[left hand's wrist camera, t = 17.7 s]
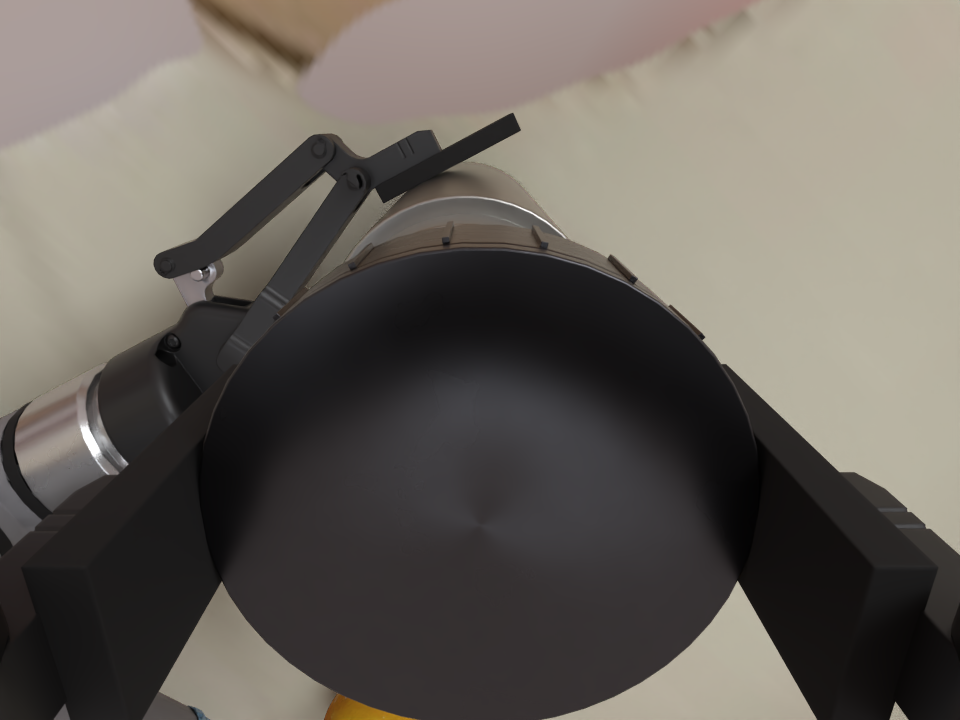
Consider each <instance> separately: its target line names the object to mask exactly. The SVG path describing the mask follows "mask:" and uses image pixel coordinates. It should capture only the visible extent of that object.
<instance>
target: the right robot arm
mask: <svg viewBox="0 0 960 720" xmlns="http://www.w3.org/2000/svg"><path fill="white" fill-rule="evenodd" d="M519 131H521V129H520V127H519V125H518V123H517V120H516V118H515V116H514V114H513V113H511V114H508V115H507V116H505V117H503V118H501V119H499V120H497V121H495V122H494V123H492V124H490V125H488V126H486V127H484V128H482V129H481V130H479V131H477V132H475V133H473V134H471V135H469V136H468V137H466V138H464V139H462V140H460V141H458V142H456V143H455V144H453V145H451V146H449V147H447V148H445V149H443V150H442V149H441V147H440V145H439V143H438V141H437V139H436V137H435V135H434V133H433V131H432V130H425V131H417V132H415V133H413V134H411V135H409V136H408V137H406V138H404V139H402V140H400V141H398V142H397V143H395V144H393V145H391V146H389V147H387V148H386V149H384V150H382V151H380V152H378V153H377V154H375V155H373V156H371V157H369V158H364V157H360V156H358V155H356V154H355V153H353V152H352V151H351V150H350V149H349V148H348V147H347V146H346V145H345V144H344V143H343V141H342V140H341V138H339V137H338V136H337V135H334V134H317V135H313V136H311V137H309V138H308V139H307V140H306V141H305V142H304V143H303V144H301V145H300V146H299V147H298V148H297V149H296V150H295V151H294V152H293V153H291V154H290V155H289V156H288V157H287V158H286V159H285V160H284V161H283V162H282V163H280V164H279V165H278V166H277V167H276V168H275V169H274V170H273V171H272V172H270V173H269V174H268V175H267V176H266V177H265V178H264V179H263V180H262V181H261V182H259V183H258V184H257V185H256V186H255V187H254V188H253V189H252V190H251V191H249V192H248V193H247V194H246V195H245V196H244V197H243V198H242V199H241V200H239V201H238V202H237V203H236V204H235V205H234V206H233V207H232V208H231V209H230V210H228V211H227V212H226V213H225V214H224V215H223V216H222V217H221V218H220V219H218V220H217V221H216V222H215V223H214V224H213V225H212V226H211V227H210V228H209V229H207V230H206V231H205V232H204V233H203V234H202V235H201V236H200V237H199V238H197V239H195V240H192V241H189V242H186V243H183V244H181V245H178V246H176V247H173V248H171V249H169V250H166V251H164V252H161V253H159V254H158V255H156V257H155V259H154V267H155V270H156V271H157V273H158V274H159V275H161V276H162V277H164V278H168V279H171V278H173V279H174V281H175V283H176V285H177V287H178V289H179V291H180V293H181V295H182V297H183V299H184V300H185V302H186V304H187V306H188V307H187V308H186V309H185V311H184V312H183V314H182V316H181V318H180V320H179V321H178V322H177V324H175V325H173V326H171V327H169V328H168V329H166V330H164V331H162V332H160V333H158V334H156V335H154V336H152V337H151V338H149V339H147V340H145V341H143V342H141V343H139V344H137V345H135V346H134V347H132V348H130V349H128V350H126V351H124V352H122V353H120V354H118V355H117V356H115V357H113V358H112V359H111V360H110V361H109V362H108V363H102V364H100V365H98V366H96V367H94V368H92V369H90V370H88V371H86V372H84V373H83V374H81V375H79V376H77V377H75V378H73V379H71V380H69V381H67V382H65V383H63V384H62V385H60V386H58V387H56V388H54V389H52V390H50V391H48V392H46V393H44V394H43V395H41V396H39V397H37V398H35V399H34V400H33V401H31V402H29V403H28V404H26V405H24V406H23V407H21V408H20V409H18V410H16V411H14V412H12V413H10V414H8V415H6V416H4V417H2V418H0V558H1V557H2V556H3V555H4V554H5V553H6V552H7V551H9V550H10V549H11V548H12V547H13V546H14V545H15V544H16V543H18V542H19V541H20V540H21V539H22V538H23V537H24V536H25V535H26V534H28V533H29V532H30V531H34V530H35V526H37V525H38V524H39V523H40V522H41V521H42V520H43V519H44V518H45V517H47V516H48V515H52V514H53V510H54V509H56V508H57V507H58V506H59V505H60V504H61V503H62V502H63V501H64V500H66V499H67V498H68V497H69V496H70V495H71V494H72V493H73V492H75V491H76V490H78V489H80V488H82V487H84V486H85V485H87V484H89V483H91V482H93V481H95V480H96V479H98V478H100V477H102V476H104V475H118V474H119V473H120V472H121V471H122V470H123V469H124V468H125V467H126V466H127V465H128V464H129V463H131V462H132V461H133V460H134V459H135V458H136V457H137V456H138V455H139V454H140V453H141V452H142V451H143V450H144V449H145V448H146V447H147V446H148V445H149V444H150V443H151V442H153V441H154V440H155V439H156V438H157V437H158V436H159V435H160V434H161V433H162V432H163V431H164V430H165V429H166V428H167V427H168V426H169V425H170V424H171V423H172V422H174V421H175V420H176V419H177V418H178V417H179V416H180V415H181V414H182V413H183V412H184V411H185V410H186V409H187V408H188V407H189V406H190V405H191V404H192V403H193V402H194V401H196V400H197V399H198V398H199V397H200V396H201V395H202V394H203V393H204V392H205V391H206V390H207V389H208V388H209V387H210V386H211V385H212V384H213V383H214V382H215V381H216V380H218V379H219V378H220V377H221V376H222V375H223V374H224V373H225V372H226V371H227V370H228V369H229V368H230V367H231V366H232V365H233V364H239V363H240V362H241V360H242V359H243V357H244V356H245V354H246V353H247V351H248V350H249V349H250V348H251V347H252V346H253V345H254V344H255V343H256V341H257V340H258V339H259V338H260V337H261V336H262V335H263V334H264V333H265V332H266V331H267V330H268V329H269V328H270V327H271V326H272V324H273V323H274V322H275V320H274V319H273V318H272V317H273V316H274V315H275V314H276V313H277V312H278V311H279V310H280V309H281V308H283V307H284V306H285V305H286V304H287V303H288V302H289V301H290V300H291V299H292V298H294V297H295V296H296V295H297V294H298V293H299V292H300V291H301V290H302V289H303V288H304V287H305V285H306V284H307V282H308V281H309V280H310V278H311V277H312V275H313V274H314V272H315V271H316V269H317V268H318V267H319V265H320V264H321V262H322V261H323V259H324V258H325V257H326V255H327V254H328V252H329V251H330V249H331V248H332V247H333V245H334V244H335V242H336V241H337V239H338V238H339V237H340V235H341V234H342V232H343V231H344V229H345V228H346V226H347V225H348V224H349V222H350V221H351V219H352V218H353V216H354V215H355V214H356V212H357V211H358V209H359V208H360V206H361V205H362V204H363V202H364V201H365V199H366V198H367V196H368V195H369V194H370V192H371V191H372V189H374V188H375V189H376V191H377V192H378V194H379V196H380V198H381V200H382V202H383V203H385V202H387V201H389V200H391V199H393V198H395V197H397V196H398V195H400V194H402V193H404V192H406V191H408V190H410V189H412V188H413V187H415V186H417V185H419V184H421V183H423V182H425V181H427V180H429V179H430V178H432V177H434V176H436V175H438V174H440V173H442V172H444V171H446V170H447V169H449V168H451V167H453V166H455V165H457V164H459V163H461V162H462V161H464V160H466V159H468V158H470V157H472V156H474V155H476V154H478V153H479V152H481V151H483V150H485V149H487V148H489V147H491V146H493V145H494V144H496V143H498V142H500V141H502V140H504V139H506V138H508V137H510V136H511V135H513V134H515V133H517V132H519ZM325 172H327V173H328V174H329V175H330V176H331V177H333V178H334V179H335V180H336V181H337V183H336V184H335V185H334V187H333V188H332V190H331V191H330V193H329V194H328V196H327V197H326V199H325V200H324V202H323V203H322V205H321V206H320V208H319V209H318V211H317V212H316V214H315V215H314V217H313V218H312V220H311V221H310V222H309V224H308V225H307V227H306V228H305V230H304V231H303V233H302V234H301V236H300V237H299V239H298V240H297V242H296V243H295V245H294V246H293V248H292V249H291V251H290V252H289V254H288V255H287V257H286V258H285V259H284V261H283V262H282V264H281V265H280V267H279V268H278V270H277V271H276V273H275V274H274V276H273V277H272V279H271V280H270V282H269V283H268V285H267V286H266V287H265V288H264V289H263V291H262V292H261V293H260V294H259V296H258V297H257V298H256V300H255V301H250V300H243V299H236V298H230V297H223V296H216V295H214V294H213V290H212V287H213V283H214V282H215V281H216V280H217V279H218V278H220V277H221V276H222V274H223V272H224V266H223V263H222V261H221V258H223V257H225V256H227V255H229V254H230V253H232V252H234V251H235V250H237V249H238V248H239V247H241V246H242V245H243V244H244V243H245V242H247V241H248V240H249V239H250V238H251V237H252V236H253V235H254V234H256V233H257V232H258V231H259V230H260V229H261V228H262V227H264V226H265V225H266V224H267V223H268V222H269V221H270V220H271V219H273V218H274V217H275V216H276V215H277V214H278V213H279V212H281V211H282V210H283V209H284V208H285V207H286V206H287V205H288V204H290V203H291V202H292V201H293V200H294V199H295V198H296V197H298V196H299V195H300V194H301V193H302V192H303V191H304V190H305V189H307V188H308V187H309V186H310V185H311V184H312V183H313V182H315V181H316V180H317V179H318V178H319V177H320V176H321V175H323V174H324V173H325ZM54 720H70V718H69V715H68V712H67V708H66V705H65V704H64V706H63V707H62V709H61V710H60V711H59V713H58V714H57V715H56V717H55V718H54ZM142 720H210V719H208V718H207V717H205V715H204V713H203V712H202V711H201V710H199V709H197V708H195V707H192V706H186V705H184V704H182V703H180V702H178V701H176V700H174V699H172V698H170V697H168V696H166V695H164V694H162V693H160V692H158V693H157V695H156V697H155V698H154V700H153V702H152V704H151V705H150V707H149V709H148V711H147V712H146V714H145V716H144V718H143V719H142Z"/></svg>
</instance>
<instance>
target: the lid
mask: <svg viewBox="0 0 960 720" xmlns="http://www.w3.org/2000/svg"><path fill="white" fill-rule="evenodd" d="M272 318H273V319H274V320H275V322H274V323H273V324H272V326H271V327H270V328H269V329H268V330H267V331H266V332H265V333H264V334H263V335H262V336H261V337H260V338H259V339H258V340H257V341H256V343H255V344H254V345H253V346H252V347H251V348H250V349H249V350H248V351H247V353H246V354H245V356H244V357H243V359H242V360H241V362H240V363H239V364H238V366H237V367H236V369H235V370H234V372H233V373H232V375H231V376H230V378H229V379H228V380H227V381H226V383H225V386H224V389H223V391H222V393H221V395H220V397H219V400H218V402H217V404H216V406H215V408H214V410H213V413H212V416H211V419H210V423H209V426H208V429H207V433H206V436H205V439H204V443H203V450H202V458H201V465H200V473H199V488H200V509H201V514H202V519H203V525H204V530H205V535H206V540H207V544H208V547H209V550H210V553H211V556H212V559H213V562H214V565H215V568H216V570H217V572H218V574H219V576H220V578H221V580H222V582H223V584H224V586H225V588H226V590H227V592H228V594H229V595H230V597H231V598H232V600H233V601H234V603H235V604H236V606H237V607H238V609H239V610H240V611H241V613H242V614H243V616H244V617H245V619H246V620H247V621H248V622H249V623H250V625H251V626H252V627H253V628H254V629H255V630H256V631H257V632H258V634H259V635H260V636H261V637H262V638H263V639H264V640H265V641H266V643H268V644H269V645H270V646H271V647H272V648H273V649H274V650H275V651H277V652H278V653H279V654H280V655H281V656H282V657H283V658H285V659H286V660H287V661H288V662H289V663H290V664H292V665H293V666H295V667H296V668H298V669H299V670H300V671H302V672H303V673H305V674H306V675H308V676H309V677H310V678H312V679H313V680H315V681H317V682H318V683H320V684H322V685H324V686H326V687H328V688H329V689H331V690H333V691H335V692H337V693H339V694H340V695H342V696H345V697H347V698H350V699H352V700H354V701H357V702H359V703H362V704H364V705H366V706H369V707H371V708H375V709H378V710H381V711H385V712H388V713H391V714H394V715H398V716H401V717H406V718H411V719H416V720H543V719H548V718H553V717H557V716H561V715H564V714H568V713H571V712H575V711H578V710H581V709H585V708H587V707H590V706H592V705H595V704H597V703H600V702H602V701H605V700H607V699H610V698H612V697H615V696H616V695H618V694H620V693H622V692H624V691H626V690H628V689H630V688H632V687H633V686H635V685H637V684H639V683H641V682H643V681H644V680H645V679H647V678H648V677H650V676H651V675H653V674H654V673H656V672H657V671H659V670H660V669H662V668H663V667H665V666H666V665H667V664H669V663H670V662H671V661H672V660H673V659H674V658H676V657H677V656H678V655H679V654H680V653H681V652H683V651H684V650H685V649H686V648H687V647H689V646H690V645H691V644H692V642H693V641H694V640H695V639H696V638H697V637H698V636H699V635H700V634H701V633H702V632H703V631H704V629H705V628H706V627H707V626H708V625H709V624H710V623H711V622H712V620H713V619H714V617H715V616H716V615H717V613H718V612H719V610H720V609H721V608H722V606H723V605H724V603H725V602H726V600H727V599H728V598H729V596H730V594H731V592H732V590H733V588H734V586H735V584H736V582H737V580H738V579H739V577H740V575H741V573H742V571H743V568H744V565H745V563H746V560H747V557H748V554H749V552H750V549H751V546H752V542H753V536H754V531H755V526H756V521H757V515H758V510H759V501H760V470H759V461H758V452H757V446H756V442H755V438H754V435H753V431H752V427H751V424H750V420H749V416H748V414H747V411H746V409H745V407H744V405H743V403H742V400H741V398H740V396H739V394H738V392H737V389H736V387H735V385H734V383H733V382H732V380H731V379H730V377H729V375H728V374H727V372H726V371H725V369H724V368H723V366H722V365H721V363H720V362H719V360H718V359H717V357H716V356H715V354H714V353H713V352H712V351H711V350H710V349H709V347H708V346H707V345H706V344H705V343H704V342H703V341H702V340H703V339H704V338H705V336H704V335H703V334H702V333H701V332H700V331H699V330H698V329H697V328H696V327H695V326H694V325H693V324H692V323H690V322H689V321H688V320H687V319H686V318H685V317H684V316H683V315H682V314H681V313H679V312H678V311H677V310H676V309H675V308H674V307H673V306H672V305H669V306H667V305H666V304H665V303H664V302H663V301H662V300H661V299H660V298H659V297H658V296H657V295H655V294H654V293H653V292H652V291H651V290H650V289H649V288H648V287H646V286H645V285H644V284H643V283H642V282H640V281H639V280H638V278H637V277H636V276H635V275H634V274H633V273H632V272H631V271H630V270H628V269H627V268H626V267H625V266H624V265H623V264H622V263H621V262H620V261H619V260H618V259H617V258H616V257H614V256H613V255H610V256H609V257H608V258H606V257H605V256H603V255H601V254H600V253H598V252H596V251H594V250H591V249H589V248H587V247H584V246H582V245H580V244H577V243H575V242H573V241H571V240H568V239H565V238H562V237H558V236H555V235H551V234H548V233H544V232H542V231H541V230H540V228H539V227H538V226H535V225H532V229H526V228H519V227H512V226H505V225H481V224H464V225H456V226H454V222H453V221H449V222H447V224H446V227H439V228H431V229H427V230H423V231H419V232H416V233H412V234H408V235H404V236H400V237H397V238H394V239H392V240H389V241H387V242H385V243H382V244H380V245H377V246H375V247H374V246H373V244H372V243H370V244H368V245H366V246H365V247H364V248H363V249H362V250H361V251H360V252H359V253H358V255H357V256H355V257H353V258H352V259H350V260H348V261H347V262H345V263H343V264H342V265H340V266H338V267H337V268H335V269H334V270H333V271H332V272H330V273H329V274H328V275H327V276H325V277H324V278H323V279H322V280H320V281H319V282H318V283H316V284H315V285H314V286H313V287H312V288H310V289H309V290H308V289H306V288H304V289H302V290H301V291H300V292H299V293H298V294H297V295H296V296H295V297H294V298H292V299H291V300H290V301H289V302H288V303H287V304H286V305H285V306H284V307H283V308H281V309H280V310H279V311H278V312H277V313H276V314H275V315H274V316H273V317H272Z"/></svg>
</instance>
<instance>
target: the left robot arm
mask: <svg viewBox="0 0 960 720" xmlns="http://www.w3.org/2000/svg"><path fill="white" fill-rule="evenodd" d="M721 365H722V366H723V368H724V369H725V371H726V372H727V374H728V375H729V377H730V379H731V380H732V382H733V383H734V385H735V387H736V389H737V392H738V394H739V396H740V398H741V400H742V403H743V405H744V407H745V409H746V411H747V414H748V416H749V420H750V424H751V427H752V431H753V435H754V438H755V442H756V446H757V452H758V461H759V470H760V501H759V510H758V515H757V521H756V526H755V531H754V536H753V542H752V546H751V549H750V552H749V554H748V557H747V560H746V563H745V565H744V568H743V571H742V573H741V575H740V577H739V579H738V582H739V584H740V585H741V587H742V589H743V591H744V592H745V594H746V596H747V598H748V599H749V601H750V603H751V605H752V606H753V608H754V610H755V612H756V613H757V615H758V617H759V619H760V620H761V622H762V624H763V626H764V627H765V629H766V631H767V633H768V634H769V636H770V638H771V640H772V641H773V643H774V645H775V647H776V648H777V650H778V652H779V654H780V655H781V657H782V659H783V661H784V662H785V664H786V666H787V668H788V669H789V671H790V673H791V675H792V676H793V678H794V680H795V682H796V683H797V685H798V687H799V689H800V690H801V692H802V694H803V696H804V697H805V699H806V701H807V703H808V704H809V706H810V708H811V710H812V711H813V713H814V715H815V717H816V718H817V720H889V719H890V716H891V713H892V710H893V707H894V704H895V702H896V703H897V704H898V706H899V707H900V708H901V710H902V711H903V713H904V714H905V715H906V717H907V718H908V719H909V720H960V555H959V554H958V553H957V552H956V551H955V550H953V549H952V548H951V547H950V546H949V545H948V544H947V543H945V542H944V541H943V540H942V539H941V538H940V537H939V536H938V535H936V534H935V533H934V532H933V531H932V530H931V529H926V527H925V524H924V523H923V522H922V521H921V520H920V519H918V518H917V517H916V516H915V515H914V514H913V513H912V512H907V508H906V507H905V506H904V505H903V504H902V503H900V502H899V501H898V500H897V499H896V498H895V497H894V496H893V495H891V494H890V493H889V492H888V491H887V490H886V489H884V488H883V487H881V486H879V485H877V484H875V483H873V482H871V481H870V480H868V479H866V478H864V477H862V476H860V475H858V474H857V473H855V472H838V471H837V470H836V469H835V468H834V467H833V466H832V465H831V464H830V463H829V462H828V461H827V460H826V459H825V458H824V457H823V456H822V455H821V454H820V453H819V452H817V451H816V450H815V449H814V448H813V447H812V446H811V445H810V444H809V443H808V442H807V441H806V440H805V439H804V438H803V437H802V436H801V435H800V434H799V433H798V432H797V431H795V430H794V429H793V428H792V427H791V426H790V425H789V424H788V423H787V422H786V421H785V420H784V419H783V418H782V417H781V416H780V415H779V414H778V413H777V412H776V411H775V410H773V409H772V408H771V407H770V406H769V405H768V404H767V403H766V402H765V401H764V400H763V399H762V398H761V397H760V396H759V395H758V394H757V393H756V392H755V391H754V390H753V389H751V388H750V387H749V386H748V385H747V384H746V383H745V382H744V381H743V380H742V379H741V378H740V377H739V376H738V375H737V374H736V373H735V372H734V371H733V370H732V369H731V368H729V367H728V366H727V365H726V364H721ZM237 366H238V364H233V365H232V366H231V367H230V368H229V369H228V370H227V371H226V372H225V373H224V374H223V375H222V376H221V377H220V378H219V379H218V380H216V381H215V382H214V383H213V384H212V385H211V386H210V387H209V388H208V389H207V390H206V391H205V392H204V393H203V394H202V395H201V396H200V397H199V398H198V399H197V400H196V401H194V402H193V403H192V404H191V405H190V406H189V407H188V408H187V409H186V410H185V411H184V412H183V413H182V414H181V415H180V416H179V417H178V418H177V419H176V420H175V421H174V422H172V423H171V424H170V425H169V426H168V427H167V428H166V429H165V430H164V431H163V432H162V433H161V434H160V435H159V436H158V437H157V438H156V439H155V440H154V441H153V442H151V443H150V444H149V445H148V446H147V447H146V448H145V449H144V450H143V451H142V452H141V453H140V454H139V455H138V456H137V457H136V458H135V459H134V460H133V461H132V462H131V463H129V464H128V465H127V466H126V467H125V468H124V469H123V470H122V471H121V472H120V473H119V474H118V475H104V476H102V477H100V478H98V479H96V480H95V481H93V482H91V483H89V484H87V485H85V486H84V487H82V488H80V489H78V490H76V491H75V492H73V493H72V494H71V495H70V496H69V497H68V498H67V499H66V500H64V501H63V502H62V503H61V504H60V505H59V506H58V507H57V508H56V509H54V510H53V514H52V515H48V516H47V517H45V518H44V519H43V520H42V521H41V522H40V523H39V524H38V525H37V526H35V530H34V531H30V532H29V533H28V534H26V535H25V536H24V537H23V538H22V539H21V540H20V541H19V542H18V543H16V544H15V545H14V546H13V547H12V548H11V549H10V550H9V551H7V552H6V553H5V554H4V555H3V556H2V557H1V558H0V720H54V718H55V717H56V715H57V714H58V713H59V711H60V710H61V709H62V707H63V706H64V704H65V705H66V708H67V712H68V715H69V718H70V720H142V719H143V718H144V716H145V714H146V712H147V711H148V709H149V707H150V705H151V704H152V702H153V700H154V698H155V697H156V695H157V693H158V691H159V690H160V688H161V686H162V684H163V683H164V681H165V679H166V677H167V676H168V674H169V672H170V670H171V669H172V667H173V665H174V663H175V662H176V660H177V658H178V656H179V655H180V653H181V651H182V649H183V648H184V646H185V644H186V642H187V641H188V639H189V637H190V635H191V634H192V632H193V630H194V628H195V627H196V625H197V623H198V621H199V620H200V618H201V616H202V614H203V613H204V611H205V609H206V607H207V606H208V604H209V602H210V600H211V599H212V597H213V595H214V593H215V592H216V590H217V588H218V586H219V585H220V583H221V581H222V580H221V578H220V576H219V574H218V572H217V570H216V568H215V565H214V562H213V559H212V556H211V553H210V550H209V547H208V544H207V540H206V535H205V530H204V525H203V519H202V514H201V509H200V488H199V473H200V465H201V458H202V450H203V443H204V439H205V436H206V433H207V429H208V426H209V423H210V419H211V416H212V413H213V410H214V408H215V406H216V404H217V402H218V400H219V397H220V395H221V393H222V391H223V389H224V386H225V383H226V381H227V380H228V379H229V378H230V376H231V375H232V373H233V372H234V370H235V369H236V367H237Z"/></svg>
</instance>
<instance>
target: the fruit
mask: <svg viewBox="0 0 960 720" xmlns="http://www.w3.org/2000/svg"><path fill="white" fill-rule="evenodd" d="M324 720H416V719H411V718H406V717H401V716H398V715H394V714H391V713H388V712H385V711H381V710H378V709H375V708H371V707H369V706H366V705H364V704H362V703H359V702H357V701H354V700H352V699H350V698H347V697H345V696H342V695H340V694H339V693H338V694H337V695H336V697H335V698H334V699H333V701H332V703H331V705H330V706H329V708H328V710H327V713H326V715H325V718H324Z"/></svg>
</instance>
